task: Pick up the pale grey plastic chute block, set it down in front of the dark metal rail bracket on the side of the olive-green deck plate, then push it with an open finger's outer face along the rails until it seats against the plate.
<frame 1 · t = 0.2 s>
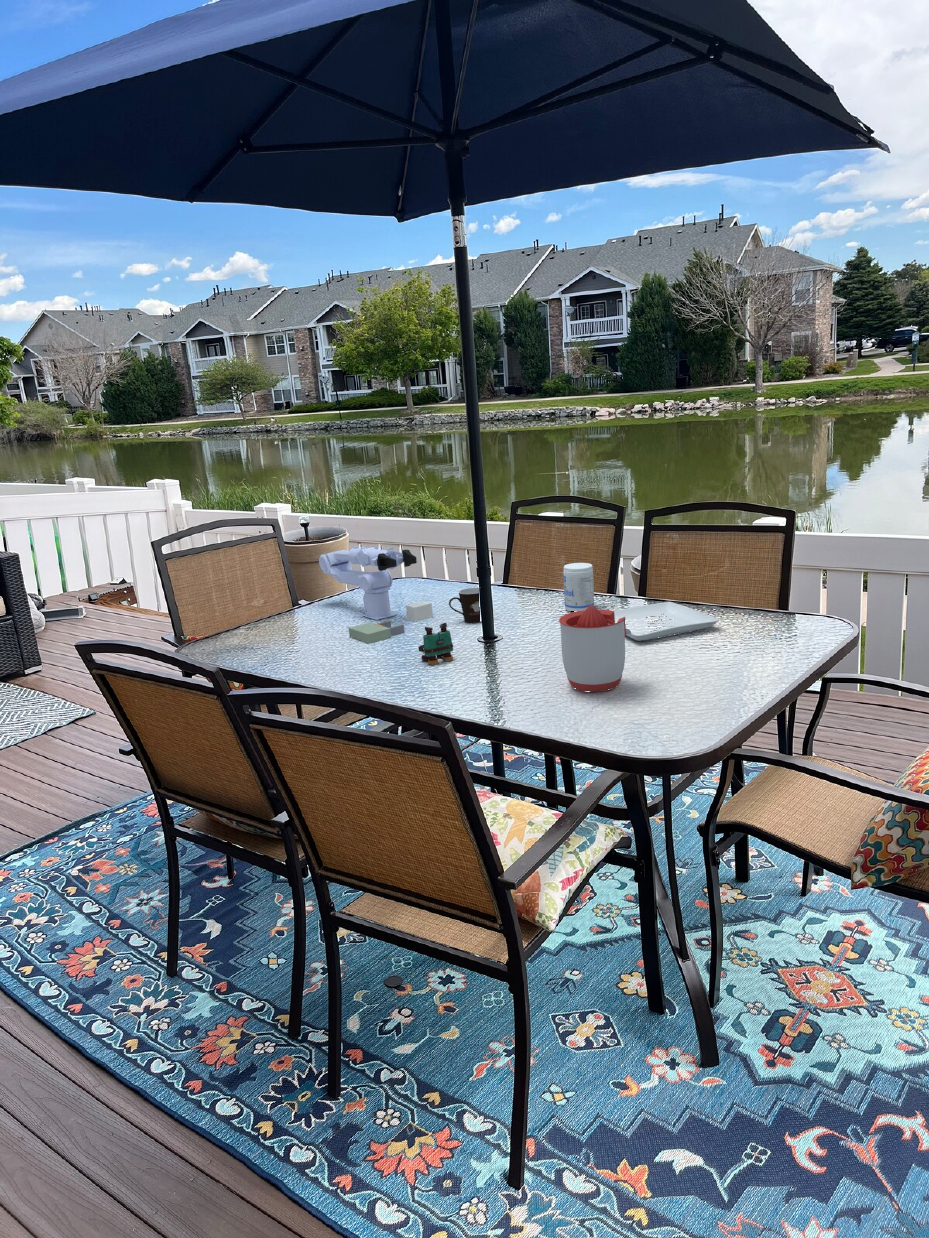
hand: (405, 561, 266), 21 cm above the table, tool horizontal, fingers open, 7 cm apart
citrus juicer: (598, 685, 202), on the table
square plate: (654, 629, 246), on the table
coffee mug: (469, 621, 270), on the table
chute: (420, 618, 279), on the table
binoculars: (435, 660, 233), on the table
mower deck: (370, 637, 261), on the table
supplement tub: (579, 610, 273), on the table
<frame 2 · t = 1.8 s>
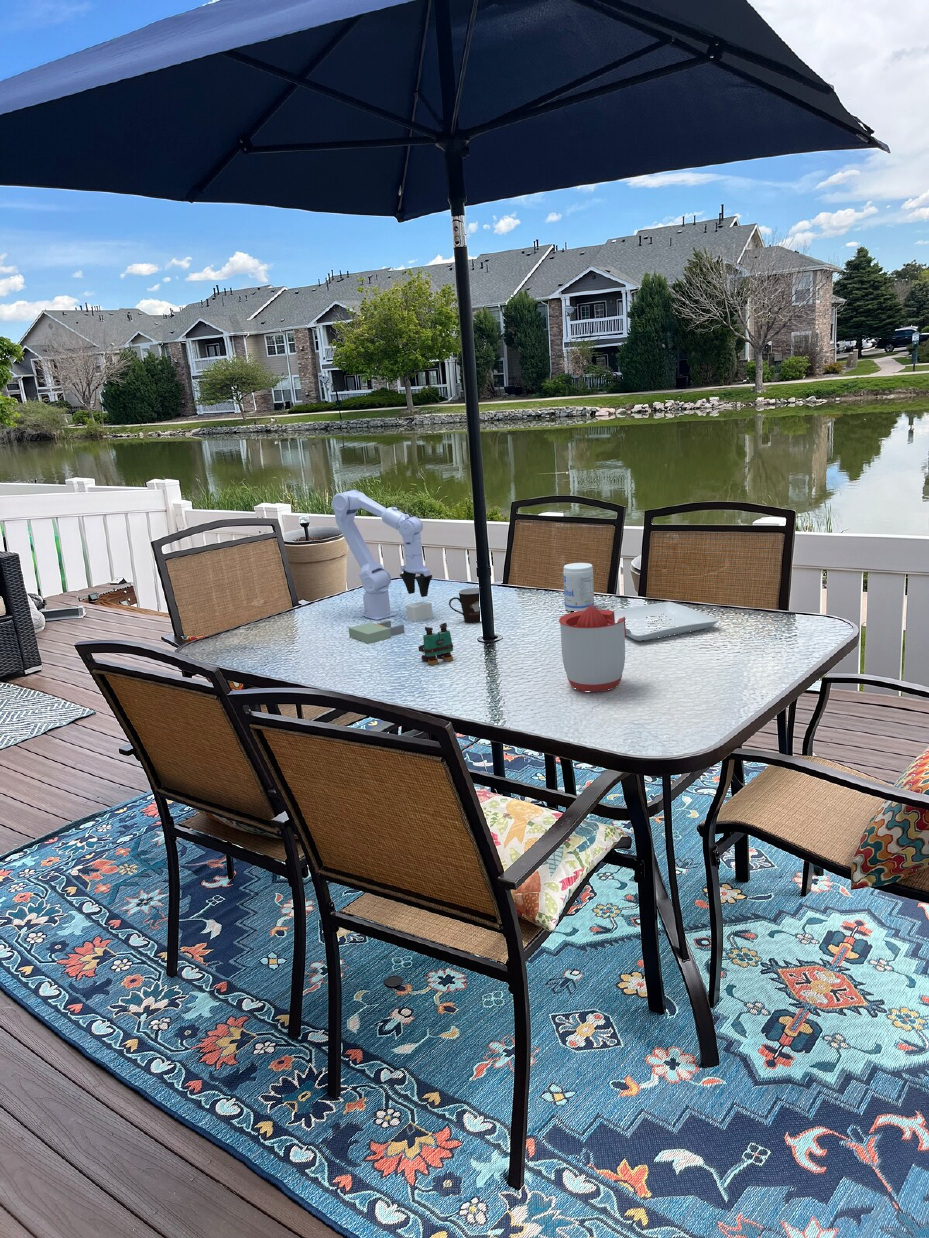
hand: (417, 594, 277), 8 cm above the table, tool pointing down, fingers open, 7 cm apart
nothing on the table moved.
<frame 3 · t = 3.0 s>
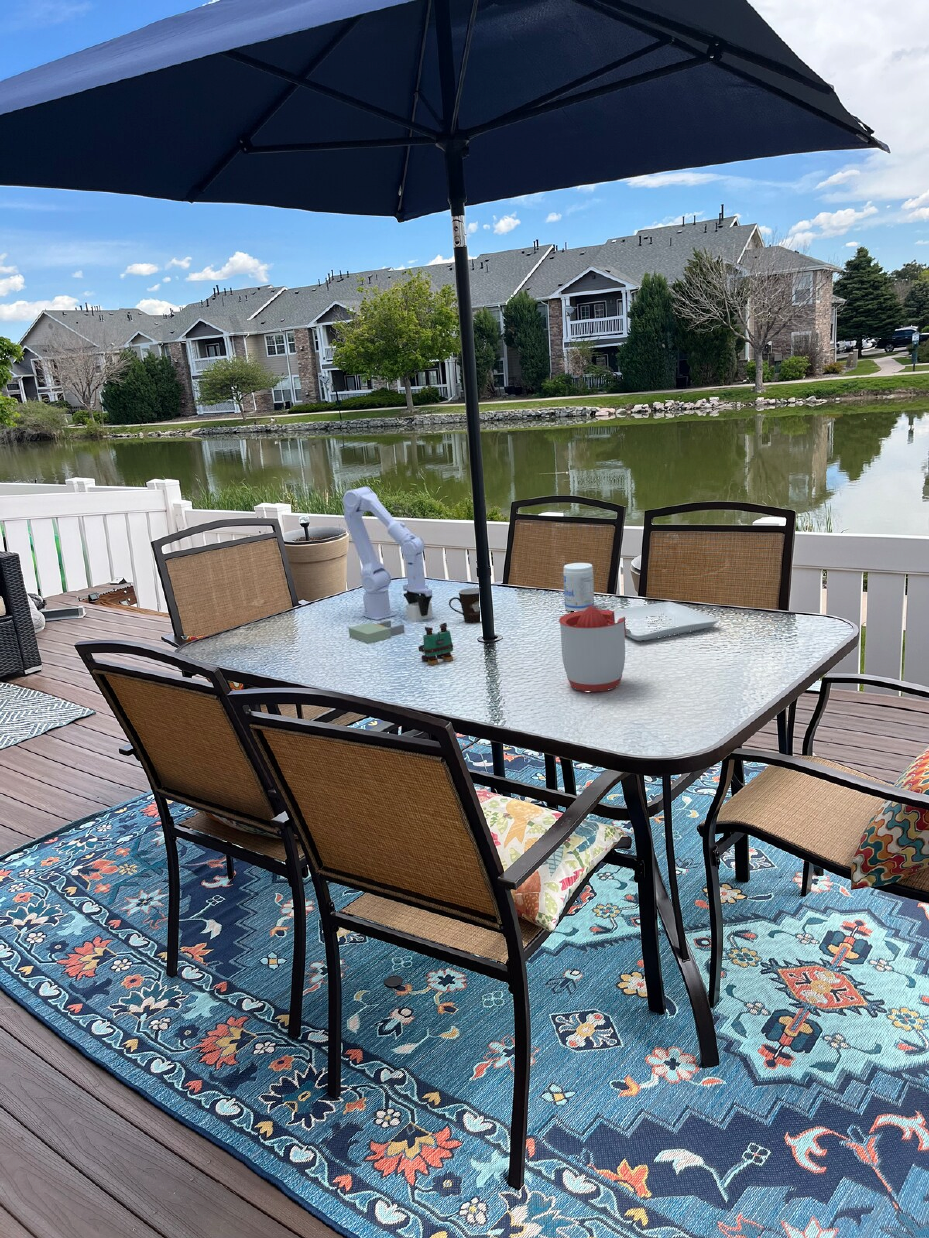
hand: (419, 614, 279), 1 cm above the table, tool pointing down, fingers closed on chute, 5 cm apart
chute: (420, 618, 279), on the table, touching gripper
everything else where it was.
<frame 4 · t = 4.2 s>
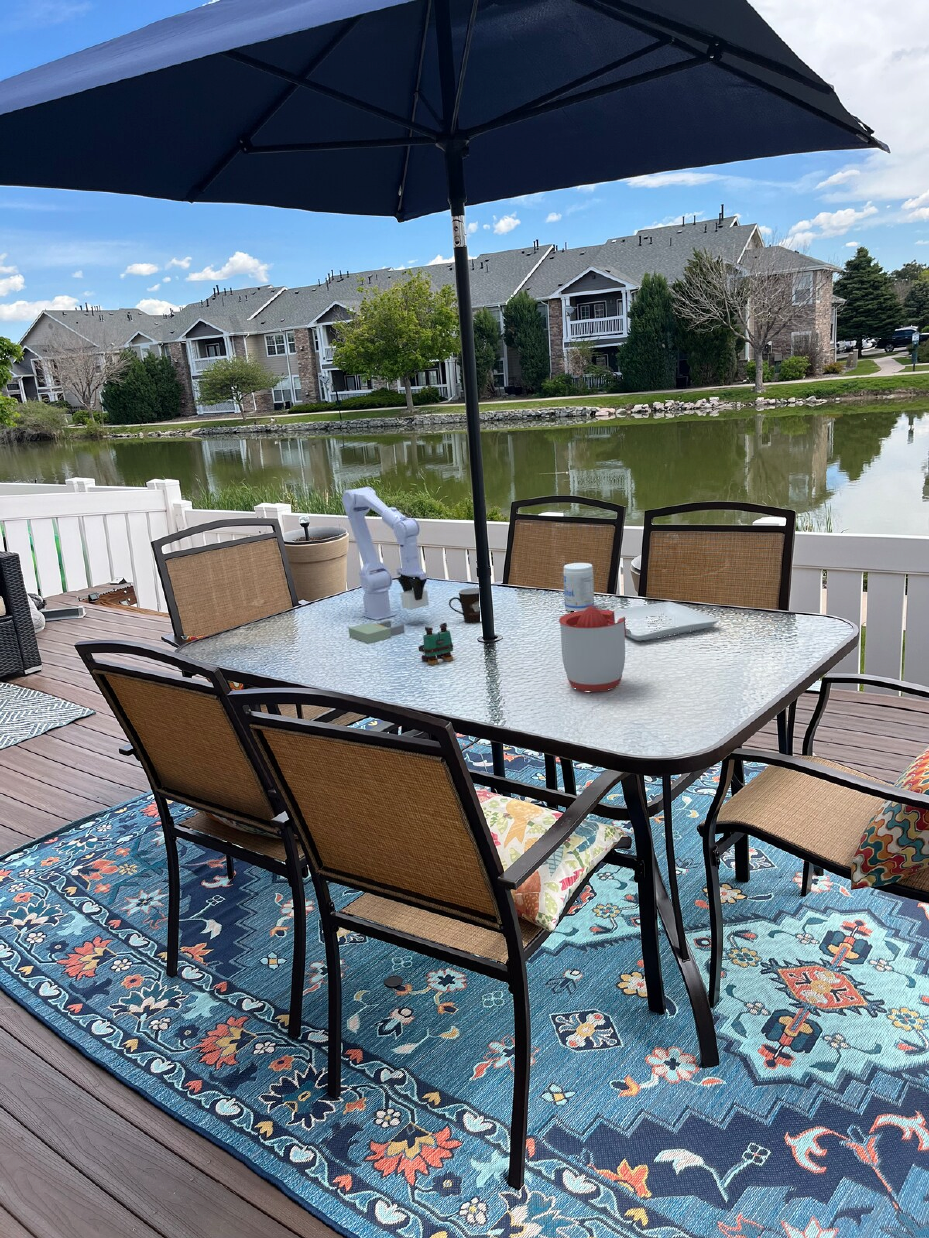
hand: (414, 598, 270), 8 cm above the table, tool pointing down, fingers closed on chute, 5 cm apart
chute: (415, 606, 271), point 6 cm above the table, touching gripper
everything else where it was.
when the fingers open (3 cm above the table, at t = 5.7 s): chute stays where it is, on the table.
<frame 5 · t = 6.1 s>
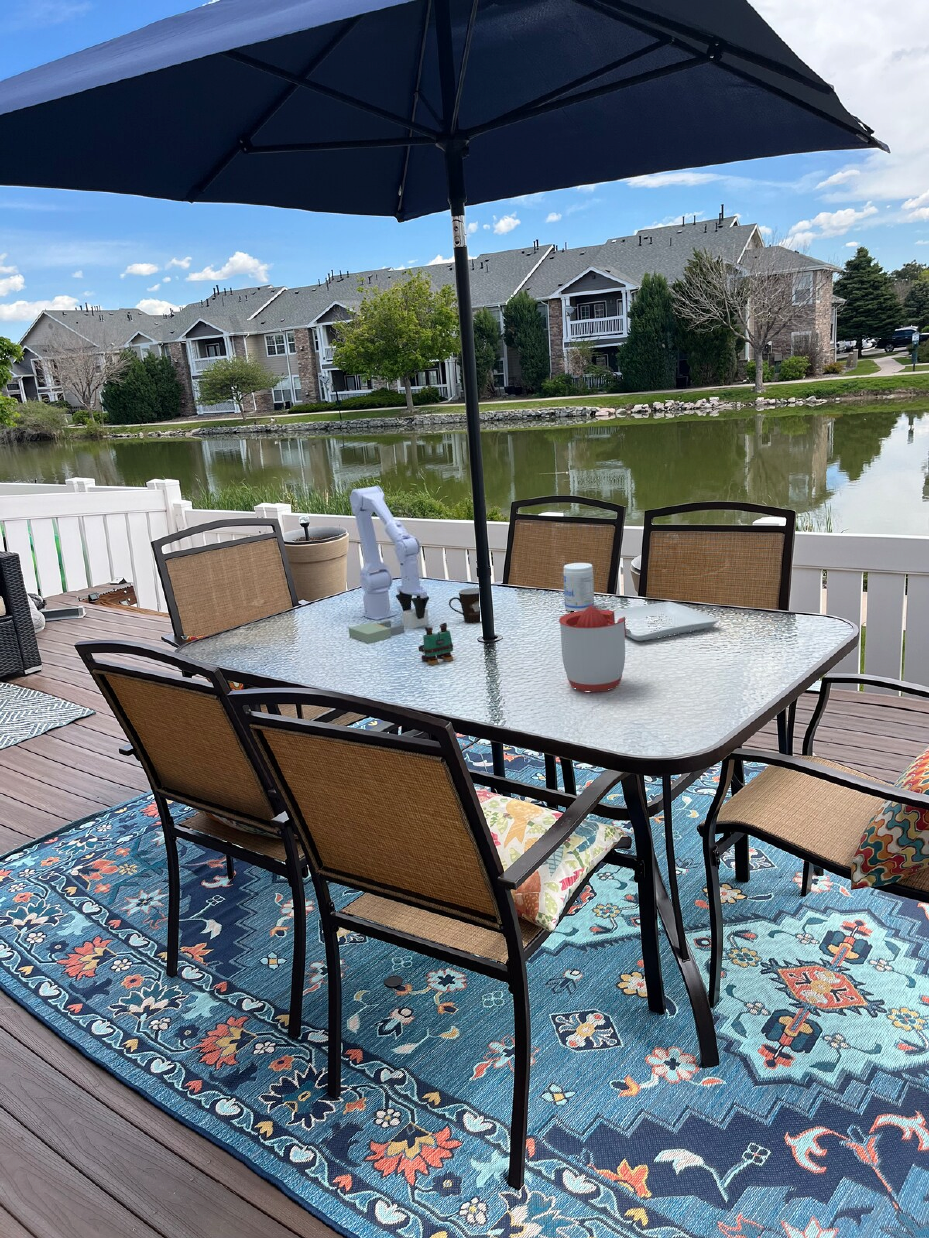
hand: (414, 616, 270), 3 cm above the table, tool pointing down, fingers open, 7 cm apart
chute: (416, 625, 271), on the table
everything else where it was.
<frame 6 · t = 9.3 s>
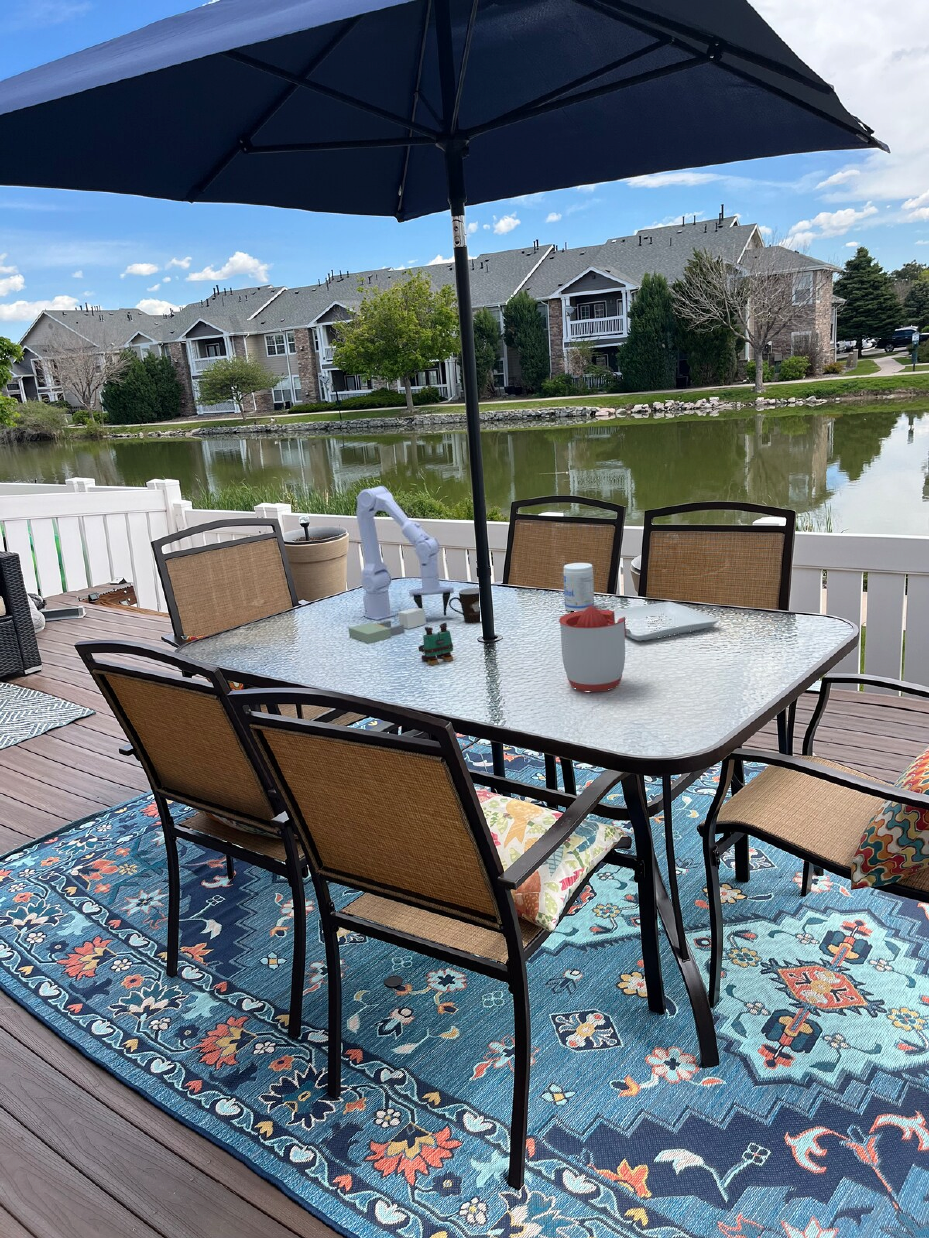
hand: (433, 615, 275), 1 cm above the table, tool pointing down, fingers open, 7 cm apart
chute: (412, 625, 270), on the table, touching gripper
everything else where it was.
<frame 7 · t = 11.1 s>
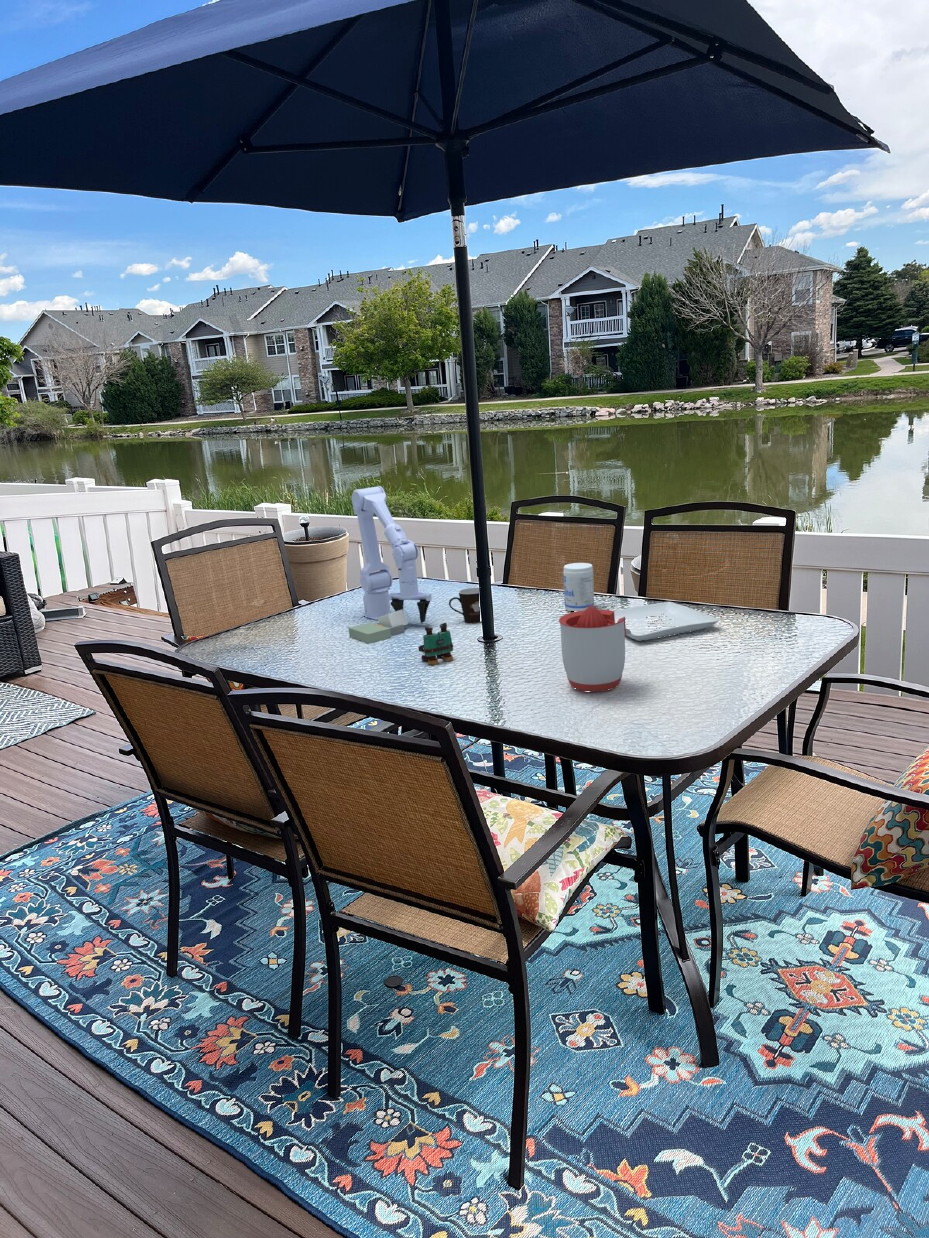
hand: (412, 621, 270), 1 cm above the table, tool pointing down, fingers open, 7 cm apart
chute: (395, 628, 266), point 1 cm above the table, tilted 18°, touching gripper, mower deck
everything else where it was.
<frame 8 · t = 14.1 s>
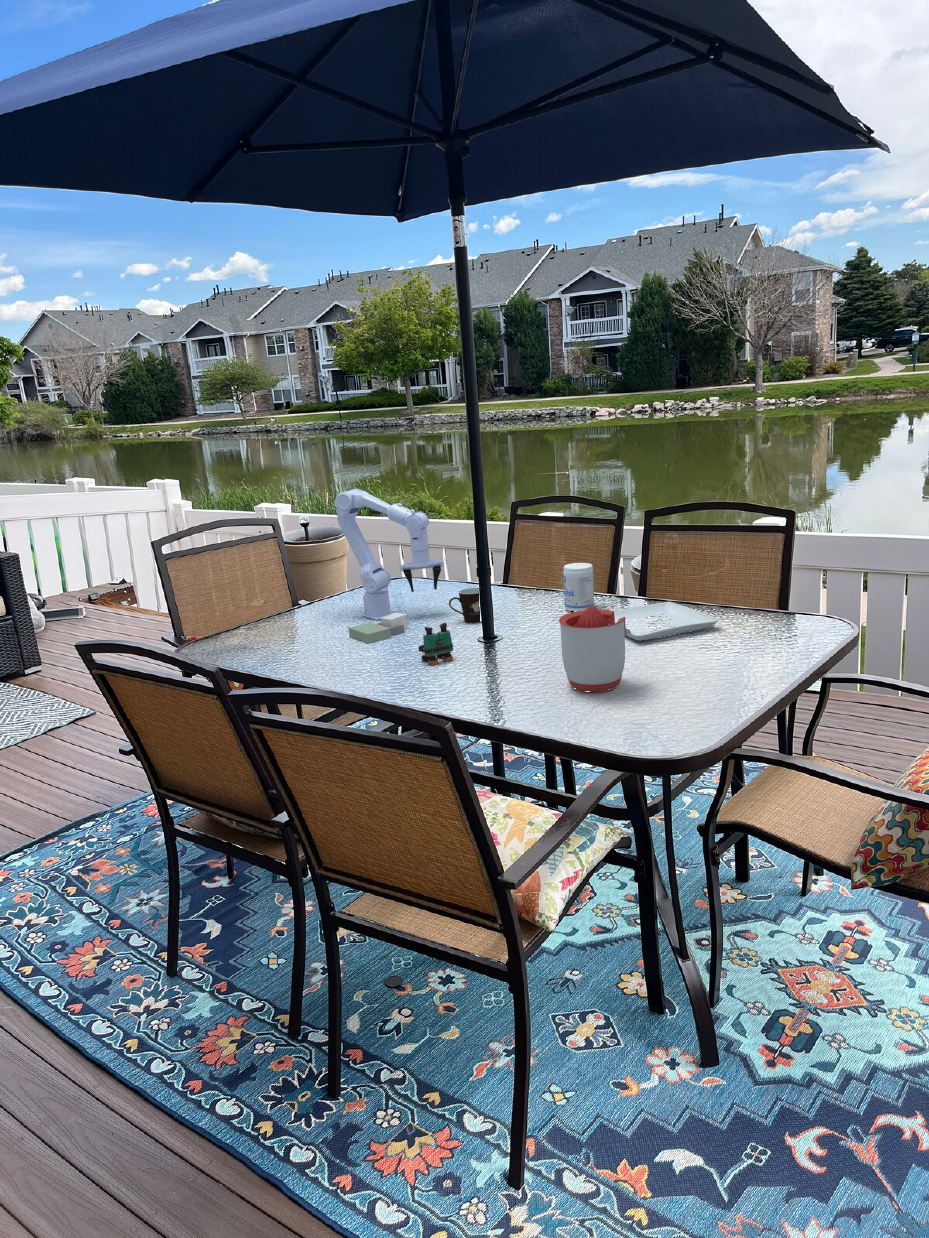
hand: (424, 590, 277), 9 cm above the table, tool pointing down, fingers open, 7 cm apart
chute: (395, 631, 266), on the table
everything else where it was.
at the end: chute 1.6 cm from the target spot, on the table; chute tilted 0°; the gripper is holding nothing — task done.
